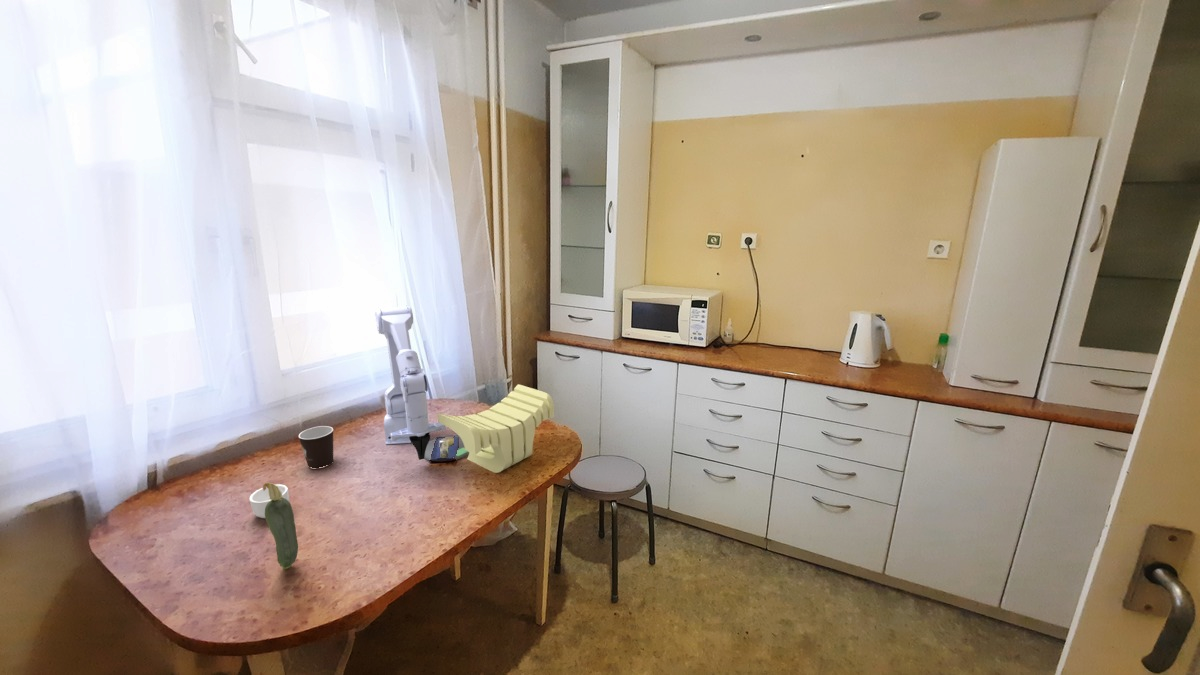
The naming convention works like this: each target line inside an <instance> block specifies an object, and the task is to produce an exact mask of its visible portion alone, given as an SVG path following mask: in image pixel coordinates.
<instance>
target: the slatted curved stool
mask: <svg viewBox="0 0 1200 675" xmlns="http://www.w3.org/2000/svg"><path fill="white" fill-rule="evenodd" d="M554 403H555V402H554V400H553V398H552V396H551V395H550V394H549V393H547V392H545V391H542V390H538V389H536V388H532V387H528V386H525V385H522V384H519V383H518V384H517V385H516V386H515V387H514V388H513V390H512V391H510V392H509V393H508V394H507V397H506V396H505V397H504V398H503V399H501V400H500V402H497V403H496V404H494V405H493V406H491V407H489V409H486V410H482V411H481V412H477V414H475V413H473V414H466V415H464V416H462V415H455V416H454V415H450V414H443V413H438V412H437V420H438V421H437V423H441V424H443V425H445V427H446V428H449V429H450V430H452V431H453V432H454V433H456V435H459V436H460V438H461V439H462V441H463V444H464V447H465V450H466V451H468V452H469V455H468V456H467V458H466V460H467V461H470V462H472V463H473V464H475V465H478V466H480V467H482V468H484V469H486V470H488V471H490V472H491V473H494V474H498V473H501V472H503V471H504V470H506V469H508V468H510V467H511V466H513V465H515V464H517V463H519V462H521V461H523V460H525V459H526V458H528V457H530V456H532V455H533V446H534V439H535V434H536V428H538V427H539V426H540V425H541V424H542V421H543V422H545V421H546V420H548V419H553V418H555V404H554Z"/></svg>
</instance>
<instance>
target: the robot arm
mask: <svg viewBox="0 0 1200 675" xmlns="http://www.w3.org/2000/svg"><path fill="white" fill-rule="evenodd" d="M413 314H414V312H413V310H412V308H411V307H410V305H406V306H394V307H393V306H392V307H384V308H383V307H382V308H379V307H378V308H376V310H375V314H374V316H375V321H376V327H377V331H378V334H380V335H384V336H385V339H386V342H387V350H388V357H389V365H390V372H391V374H390V375H391V379H392V380H391V381H392V384H391V386H389V387H388V388H387V389H386V390H385V391H384V406H385V410H386V411H385V412H386V414H385V416H384V420H383V429H384V437H385V443H384V444H385V445H396V444H398V445H399V444H412V445H413V447H414V449H415V450H416V454H417V457H418V459H419V461H420V460H425V459H424V458H425V451H426V447H427V445H428V442H429V441H431V434H432V433H435V432H444V431H446V428H447V427H446V426H445V425H443V424H441V423H439V422H433V423H432V422H431V423H429V413H428V412H429V411H428V401H427V400H428V399H427V392H428V391H429V383H428V378H427V374H426V372H425V371H424V369H423V368H422V367H421V364H420V359H419V356H418V353H417V352H416V351H415V350H413V349H412V345H411V340H410V333H409V331H410V330H411V329H412V327H413V324H414V315H413Z"/></svg>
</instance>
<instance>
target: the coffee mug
mask: <svg viewBox="0 0 1200 675" xmlns="http://www.w3.org/2000/svg"><path fill="white" fill-rule="evenodd" d="M298 440H299V442H300V445H301V449H302V451H303V454H304V457H305V458H304V459H305V461H306V464H307V467H308V466H309V467H312V468H319V467H323V466H326V465H329V464H331V463H332V462H333V463H334V428H333V427H332V426H329V425H328V426H327V425H319V426H314V427H311V428H307V429H305V430H303V431H301V432H300V433H299V434H298ZM333 463H332V464H333ZM332 464H331V465H332ZM329 466H330V465H329ZM309 467H308V468H309Z"/></svg>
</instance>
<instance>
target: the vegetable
mask: <svg viewBox="0 0 1200 675" xmlns="http://www.w3.org/2000/svg"><path fill="white" fill-rule="evenodd" d="M276 485H277V484H275V483H271V482H265V483H264V484H263V485H262V488H263V489H264V490H263V491H265V489H266V487H267V488H268V490H269V496H270V498H269V499H272V500H270V501H269V502H268V503H267V505H266V508H265V518H264V519H265V520H266V523H267V525H268V528H269V531H270V533H271V535H273V537H274V541H275V549H276V558H277V563H278V564H279V566H280V567H282V570H288V569H289V568H291V566H293V564H294V563H295V562H296V560H297V557H298V552H299V542H298V539H297V538H298V537H297V529H296V524H295V516H294V512H293V507H292V505H291V502H290V500H289V501H288V500H287V499H285V498H283V497H281V496H282V494H281V492H280V490H279V488H278V487H277V486H276Z"/></svg>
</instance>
